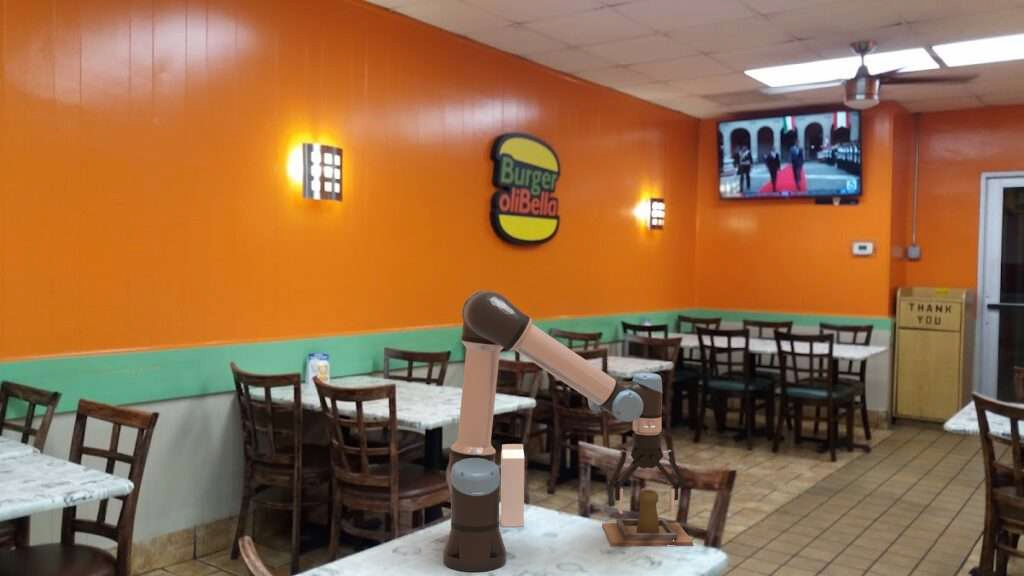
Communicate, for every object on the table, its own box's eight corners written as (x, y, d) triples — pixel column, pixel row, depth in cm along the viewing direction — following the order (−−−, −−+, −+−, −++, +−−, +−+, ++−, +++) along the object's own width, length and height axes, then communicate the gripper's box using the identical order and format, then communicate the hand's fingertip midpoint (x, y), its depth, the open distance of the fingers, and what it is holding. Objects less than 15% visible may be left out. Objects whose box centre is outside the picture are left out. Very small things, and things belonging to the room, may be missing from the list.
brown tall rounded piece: (653, 537, 212) (653, 495, 212) (632, 533, 216) (632, 491, 216) (663, 531, 217) (663, 490, 217) (642, 527, 221) (643, 486, 220)
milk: (523, 527, 224) (524, 446, 223) (501, 527, 223) (502, 446, 223) (521, 520, 230) (522, 441, 229) (500, 520, 229) (501, 441, 229)
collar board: (611, 546, 208) (611, 536, 208) (601, 526, 224) (602, 517, 224) (693, 545, 209) (693, 536, 209) (678, 526, 225) (678, 517, 225)
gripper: (602, 435, 212) (601, 516, 212) (697, 435, 213) (696, 516, 213) (597, 429, 219) (597, 508, 220) (690, 429, 220) (689, 508, 221)
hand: (646, 512), depth 217 cm, fingers open, 13 cm apart
